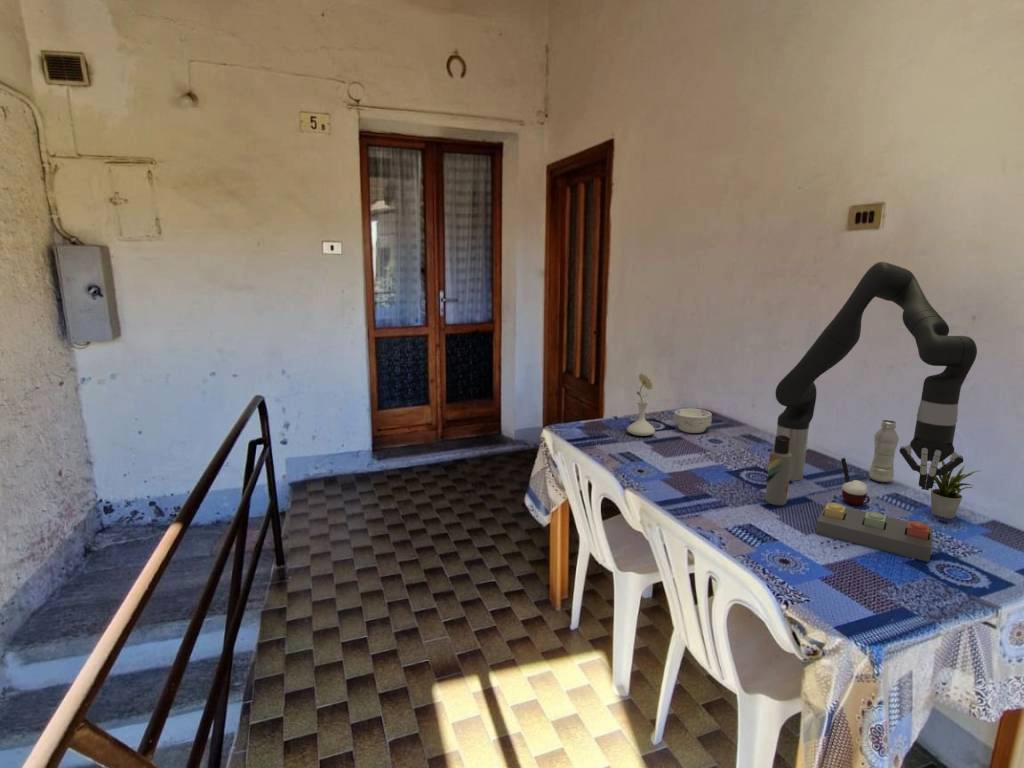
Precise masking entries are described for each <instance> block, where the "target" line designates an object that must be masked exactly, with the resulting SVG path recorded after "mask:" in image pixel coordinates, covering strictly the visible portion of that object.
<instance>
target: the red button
mask: <svg viewBox="0 0 1024 768" xmlns="http://www.w3.org/2000/svg"><path fill="white" fill-rule="evenodd" d="M929 526H930V525H928V524H927V523H925V522H921V521H917V520H912V521H910V520H908V528H907V535H908V536H912V537H916V538H920V539H925V540H928V534H929Z"/></svg>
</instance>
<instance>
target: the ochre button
mask: <svg viewBox="0 0 1024 768" xmlns="http://www.w3.org/2000/svg"><path fill="white" fill-rule="evenodd" d="M827 503H828V504H827V506H826V508H825V514H824V516H828V517H832V518H836V519H840V520H843V519H844V516H845V508H847V507H846V506H844V505H842V504H840V503H837V502H827Z"/></svg>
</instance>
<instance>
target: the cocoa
mask: <svg viewBox="0 0 1024 768" xmlns="http://www.w3.org/2000/svg"><path fill="white" fill-rule="evenodd" d="M840 460H841V464H842V465H841V466H842V470H843V471H842V472H843V476H844V479H845V482H844V483H843V484H842V486H841V488H842V489H841V494H842V495H841V496H842V499H843V501H845V503H847V504H849V505H852V504H853V505H854V506H860V505H866V504H869V502H870V500H871V498H870V497H869V496H868V487H867V485H866V484H865V483H864V482H863V481H860V480H857V479H854V480H852V481H851V480H850V475H849V474H850V473H849V470H848V469H849V468H848V465H847V460H846V458H845V457H842V458H841V459H840ZM866 499H867V501H866Z"/></svg>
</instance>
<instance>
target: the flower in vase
mask: <svg viewBox="0 0 1024 768" xmlns="http://www.w3.org/2000/svg"><path fill="white" fill-rule="evenodd" d="M638 380H639V381H640V383H641V386H640V388H639V390H636V394H637V395H638V396H639V397H640V399H639V400H635V401H636V403H637V406H638V418H637V419H636V420H635V421H634V422H632V423H631V424H629V425H628V426H627V428H626V431H627V432H628V433H629V434H632V435H634V436H639V437H640V436H641V437H644V436H645V437H646V436H652V435H654V434H655V433H656V429H655V427H654V425H652V424H650V423H649V422H648V421H647V420H646V418H645V417H646V416H645V415H646V414H645V413H646V408H647V406H648V404H649V400H644V399H643V398H644V397H647V396H648V394H646V395H643V396H642V394H641V390H642V388H643V386H644V388H646V389H647V390H652V389H653V384H652V381H651V379H650V378H649V377H648V376H647V375H646V374H644V373H643V372H642V373H639V374H638Z"/></svg>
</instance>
